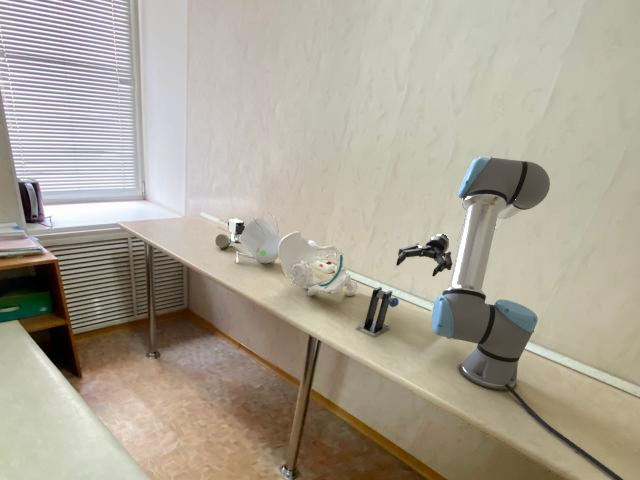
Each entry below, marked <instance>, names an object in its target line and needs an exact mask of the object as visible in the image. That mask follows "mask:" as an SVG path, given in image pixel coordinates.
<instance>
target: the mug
mask: <svg viewBox="0 0 640 480" xmlns="http://www.w3.org/2000/svg"><path fill="white" fill-rule="evenodd" d="M231 239H232V238H230V237H229V236H228V235H227V234H225V233H220V234H217V236H216V237H215V242H214V243H215V244H216V247H218V248H221V249H224V248H225V249H226V248H227V247H228V246H230V245H231V244H232V240H231Z"/></svg>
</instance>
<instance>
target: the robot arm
mask: <svg viewBox="0 0 640 480" xmlns="http://www.w3.org/2000/svg"><path fill="white" fill-rule="evenodd" d="M550 181H551V180H550V177H549V174H548V173H547V171H546V169H544V167H542V166H541V165H540V164H538V163H536V162H533V161H528V160H527V161H526V160H517V159H509V158H508V159H507V158H498V157H493V156H477V157H475V158H474V159H473V160H472V161H471V163H470V164H469V166H468V169H467V170H466V172H465V174H464V177H463V179H462V181H461V184H460V186H459V189H458V193H457V196H458V197H459V198H461V199H462V198H463V203H462V206H463V208H464V209H465V210H466V215H465V219H464V224H463V225H462V228H461V235H460V237H459V241H458V245H457V246H458V247H457V251H456V256H455V259H454V260H455V261H454V265H453V260H452V252H451V251H448V250H449V249H450V248H449V239H448V238H447V236H446V235H444V234H437V233H436V234H437V235H436V234H435V235H434V236H433V237H431V239H430V240H428V241H427V242H426V243H425V245H422V246H421V245H420V243H418V242H417V243H415V244H412V245H407V246H405V247H401V248H399V249H398V252H397V256H398V257H397V260H396V265H395V266H397V267H399V266H400V265H401V264H402V263H403V262H404V261H405V260H406V259H407V258H415V257H419V258H422V257H425V258H429V259H433V261H434V262H436V263H437V265H436V266H435V267H434V269H433V272H432V275H431V276H432V277H436V276H437V274H439V273H442V272H444V270H447V271H451V270H452V267H453V270H452V274H451V279H450V284H449V286H448V287H447V288H445V289H444V290H443V291H442V294H441V295H437V296H436V298H435V300H434V302H433V307H432V309H431V329H432V331H433V333H434V335H436V336H438V337H443V338H446V339H450V340H451V339H452V340H458V341H463V342H467V343H471V344H472V343H473V344H476V345H477V346H476V347H475V348H474V349H473V350H472V352H470V354H468V356H467V357H466V358H465V359H464V360H463V361H462V363H461V366H460V372H461V373H462V375H463V376H464V377H465V378H466V379H467V380H469V381H470V382H473V383H474V384H476V385H479V386H481V387H484V388H487V389H492V390H496V391H509V392H510V393H511V394H512V395H513V396H514V397H515V398H516V399H517V401H518V402H519V403H520V404H521V405H522V406H523V407H524V408H525V409H526V410H527V412H529V414H530V415H532V416H533V417H534V418H535V419H536V420H537V421H538V422H539V423H540V424H541V425H542V426H544V427H545V428H546V429H547V430H548V431H550V432H551V433H552V434H554V435H555V436H557V437H558V438H559V439H560V440H562V441H564V442H565V443H566V444H567V445H569V446H570V447H572V448H573V449H574V450H576V451H577V452H579V453H580V454H581V455H582V456H584V457H585V458H586V459H588V460H589V461H591V462H592V463H593V464H595V465H596V466H597V467H598V468H600V469H602V471H604V472H605V473H606V474H608V475H609V476H611V477H612V478H613V479H614V480H624V478H622V477H621V476H619V475H618V474H617V473H615V472H614V471H613V470H612V469H610V468H609V467H607V466H606V465H605V464H603V463H602V462H601V461H599V460H598V459H597V458H595V457H593V456H592V454H590V453H588V452H587V451H585V450H584V449H582V448H581V447H580V446H578V445H577V444H575V443H574V442H573V441H571V440H570V439H568V438H567V437H566V436H565V435H563V434H562V433H560V432H559V431H557V430H556V429H555V428H554V427H552V426H551V425H549V423H547V422H546V421H545V420H544V419H542V418H541V417H540V415H538V414H537V413H536V412H535V411H534V410H533V409H532V408H531V407H530V406H529V405H528V404H527V403H526V401H524V399H523V398H522V397H521V396H520V395H519V394H518V393H517V391H515V390H514V389H513V387H514V386H515V384H516V382H517V379H518V368H519V367H518V365H519V361H520V359H521V357H522V355H523V353H524V351H525V349H526V347H527V345H528V343H529V341H530V339H531V338H532V335H533V334H534V333H535V329H536V326H537V324H538V321H539V319H538V316H537V314H536V312H534V311H533V310H532V309H530V308H529V307H527V306H525V305H522V304H520V303H519V302H515V301H513V300H510V299H509V300H508V299H497V300H496V301H495V302H494V304H490V303H486V299H487V295H486V293H485V292H484V291H483V285H484V281H485V277H486V272H487V266H488V261H489V258H490V253H491V248H492V244H493V240H494V235H495V230H496V229H495V226H496V221H497V218H498V219H507V218H512V217H514V216H515V215H517V214H518V213H520V212H522V211H527V210H530V209H533V208H534V207H537V206H538V205H540V204H541V203H542V202H543V201H544V200H545V199H546V197H547V195H548V194H549V191H550V187H551V182H550ZM515 199H516V200H515ZM448 248H449V249H448Z"/></svg>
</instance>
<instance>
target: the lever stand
mask: <svg viewBox="0 0 640 480" xmlns="http://www.w3.org/2000/svg"><path fill="white" fill-rule="evenodd" d="M382 289H383V287H382V286H379V287H376V288H374V289H372V294H371V297H370V301H369V306H368V308H367V313H366V316H365V320H364V323H362V324H359V325H358V326H357V327H358V328H361V329H362V330H365V331H368V332H369V333H372V334H374V335H376V334H378V333H379V332H381V331H383V330H385V329H386V328H389V325H387V324H384V323H385V320H386V317H387V313H388V309H389V307H390V305H389V302H390V299H391V298H392V295H393V291H392V290H388V291H386V292H385V293H384V295H383V299H381V302H380V299H379V298H377V297H376V296H377V294H378V291H379V290H380V291H383V290H382ZM379 302H380V306H379V310H378V313H377V317H376V319H375V316H376V312H377V309H378V305H379Z"/></svg>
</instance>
